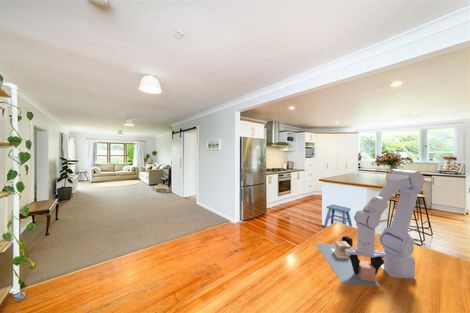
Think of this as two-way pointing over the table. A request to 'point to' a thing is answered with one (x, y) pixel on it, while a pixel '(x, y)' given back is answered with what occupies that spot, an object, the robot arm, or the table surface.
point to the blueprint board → (342, 266)
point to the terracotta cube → (366, 271)
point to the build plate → (347, 240)
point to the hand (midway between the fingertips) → (364, 273)
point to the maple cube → (341, 247)
